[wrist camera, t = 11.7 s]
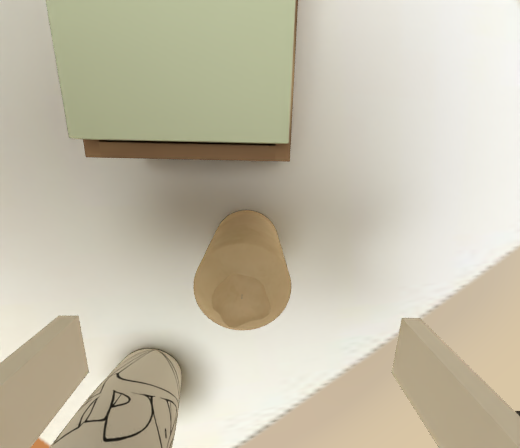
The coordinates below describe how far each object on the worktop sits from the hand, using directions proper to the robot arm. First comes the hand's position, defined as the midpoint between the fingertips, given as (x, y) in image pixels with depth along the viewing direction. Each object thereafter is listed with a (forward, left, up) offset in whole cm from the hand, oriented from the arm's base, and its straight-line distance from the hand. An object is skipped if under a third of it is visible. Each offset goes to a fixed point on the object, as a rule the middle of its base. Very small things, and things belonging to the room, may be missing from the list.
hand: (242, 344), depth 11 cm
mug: (+16, -10, -13) cm, 23 cm away
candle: (0, 0, -13) cm, 13 cm away
